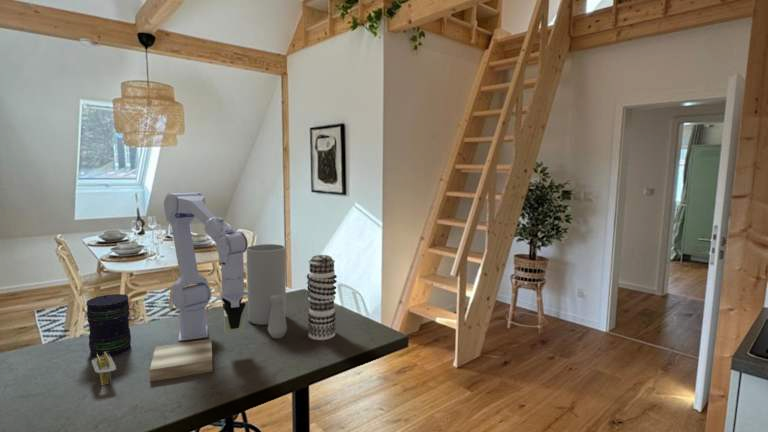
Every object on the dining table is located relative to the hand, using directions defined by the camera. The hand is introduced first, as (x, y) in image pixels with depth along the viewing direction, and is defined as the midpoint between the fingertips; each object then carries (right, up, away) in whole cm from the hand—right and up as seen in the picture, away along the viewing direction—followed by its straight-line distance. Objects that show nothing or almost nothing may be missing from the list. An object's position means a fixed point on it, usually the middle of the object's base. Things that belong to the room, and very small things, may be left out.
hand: (233, 324), depth 115 cm
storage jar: (-35, -8, +1) cm, 36 cm away
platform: (-26, -10, -15) cm, 32 cm away
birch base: (-11, -9, -6) cm, 15 cm away
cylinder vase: (+1, -6, +28) cm, 28 cm away
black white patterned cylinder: (+22, -7, +15) cm, 28 cm away
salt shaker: (+9, -7, +14) cm, 18 cm away
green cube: (0, -2, 0) cm, 2 cm away
